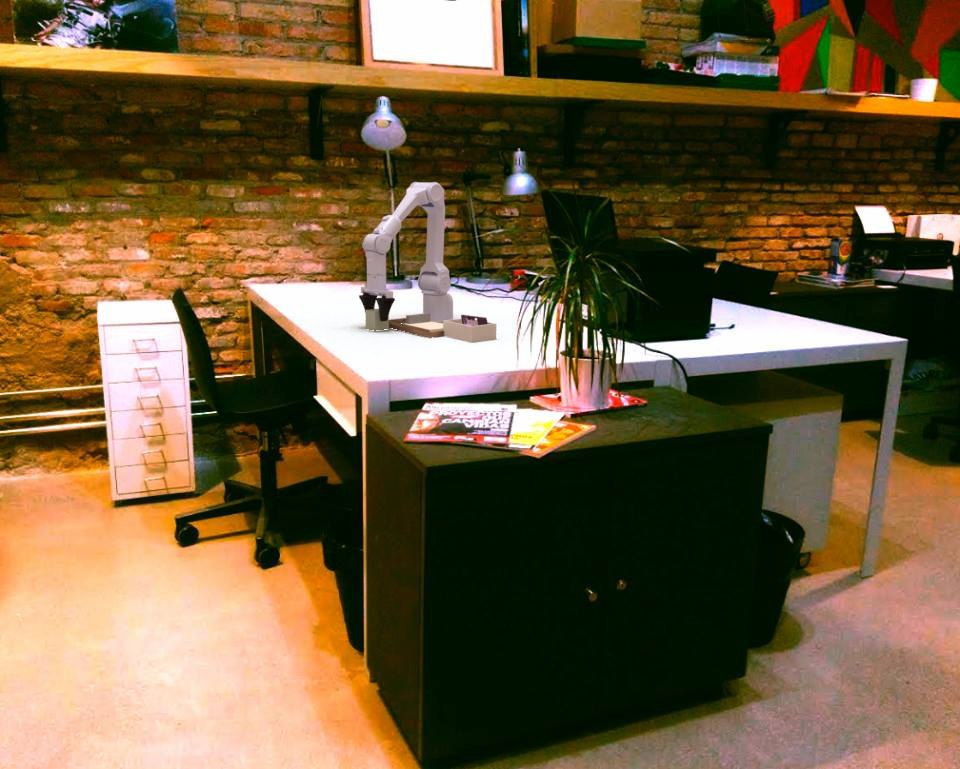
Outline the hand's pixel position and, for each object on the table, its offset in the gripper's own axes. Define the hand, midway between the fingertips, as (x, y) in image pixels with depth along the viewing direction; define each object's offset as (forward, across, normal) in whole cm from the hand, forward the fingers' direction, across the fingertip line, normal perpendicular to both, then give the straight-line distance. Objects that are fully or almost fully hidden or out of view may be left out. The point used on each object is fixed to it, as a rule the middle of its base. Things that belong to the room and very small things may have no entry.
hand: (376, 319), depth 259 cm
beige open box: (+3, +27, +14) cm, 31 cm away
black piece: (+3, +28, +15) cm, 32 cm away
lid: (+2, +14, +10) cm, 17 cm away
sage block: (+3, 0, 0) cm, 3 cm away
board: (+3, +8, +10) cm, 13 cm away
